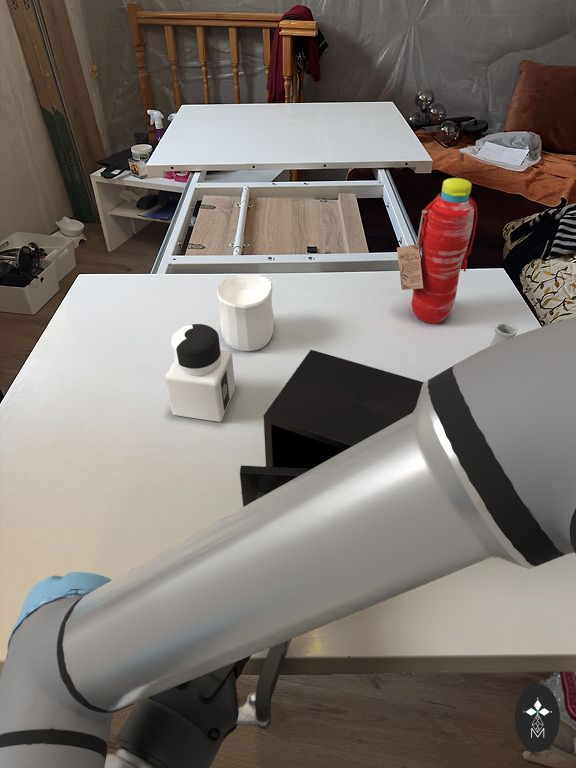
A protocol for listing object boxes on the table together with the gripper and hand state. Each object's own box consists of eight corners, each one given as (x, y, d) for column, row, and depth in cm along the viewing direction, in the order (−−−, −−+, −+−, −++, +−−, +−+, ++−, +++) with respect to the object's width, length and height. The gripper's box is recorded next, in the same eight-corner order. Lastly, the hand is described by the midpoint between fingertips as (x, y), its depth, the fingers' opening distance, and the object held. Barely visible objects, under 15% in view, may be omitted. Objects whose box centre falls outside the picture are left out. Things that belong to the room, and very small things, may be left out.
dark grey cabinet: (402, 551, 63) (423, 470, 53) (267, 497, 69) (263, 415, 59) (430, 472, 71) (453, 390, 61) (308, 430, 77) (310, 349, 67)
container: (235, 388, 84) (229, 321, 75) (221, 423, 78) (212, 354, 70) (189, 382, 85) (177, 314, 76) (171, 415, 80) (157, 347, 71)
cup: (265, 315, 99) (263, 268, 92) (283, 346, 92) (283, 298, 86) (215, 325, 97) (209, 278, 90) (230, 358, 90) (225, 310, 83)
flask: (457, 378, 86) (471, 327, 79) (482, 358, 89) (497, 308, 83) (497, 400, 82) (516, 349, 75) (522, 379, 85) (541, 328, 79)
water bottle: (392, 328, 96) (414, 191, 79) (386, 303, 102) (405, 171, 85) (459, 328, 96) (495, 191, 79) (449, 303, 102) (481, 171, 85)
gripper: (82, 737, 45) (222, 523, 61) (245, 841, 40) (351, 578, 56) (56, 708, 40) (216, 483, 56) (239, 822, 35) (358, 539, 51)
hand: (283, 531), depth 56 cm, fingers open, 3 cm apart
